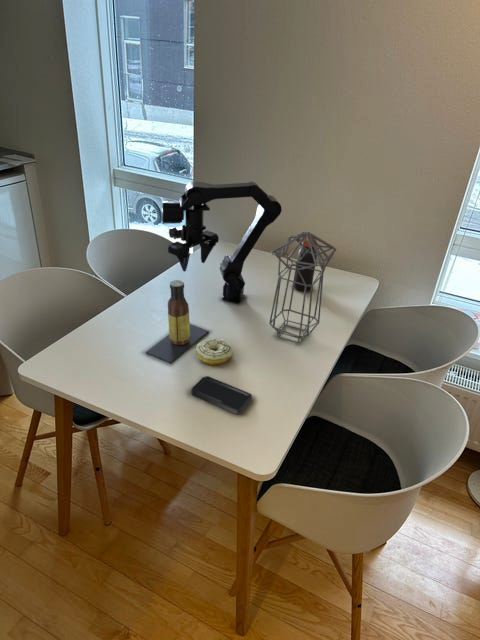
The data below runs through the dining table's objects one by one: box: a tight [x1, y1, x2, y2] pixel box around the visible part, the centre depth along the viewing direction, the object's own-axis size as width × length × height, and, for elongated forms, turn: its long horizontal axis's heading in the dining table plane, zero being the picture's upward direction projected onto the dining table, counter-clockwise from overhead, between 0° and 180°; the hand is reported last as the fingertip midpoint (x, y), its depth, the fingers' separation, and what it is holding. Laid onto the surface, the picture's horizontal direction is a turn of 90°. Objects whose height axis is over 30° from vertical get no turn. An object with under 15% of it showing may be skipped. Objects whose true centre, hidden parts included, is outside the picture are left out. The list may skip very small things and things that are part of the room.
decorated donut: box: [195, 338, 234, 366], centre depth 140 cm, size 10×11×4 cm
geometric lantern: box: [268, 231, 337, 344], centre depth 144 cm, size 16×16×35 cm
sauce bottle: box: [167, 279, 191, 345], centre depth 140 cm, size 6×6×20 cm
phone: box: [190, 375, 253, 415], centre depth 125 cm, size 8×1×15 cm
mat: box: [145, 323, 209, 364], centre depth 146 cm, size 20×9×1 cm, turn 150°
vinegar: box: [294, 238, 318, 293], centre depth 176 cm, size 7×7×20 cm
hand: (193, 266), depth 161 cm, fingers open, 9 cm apart
